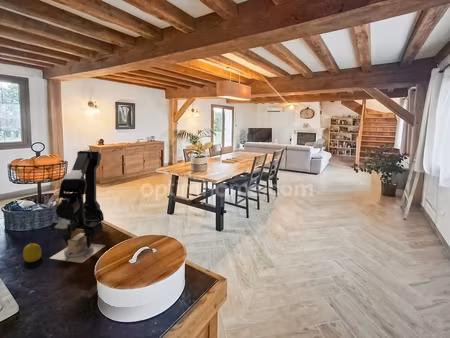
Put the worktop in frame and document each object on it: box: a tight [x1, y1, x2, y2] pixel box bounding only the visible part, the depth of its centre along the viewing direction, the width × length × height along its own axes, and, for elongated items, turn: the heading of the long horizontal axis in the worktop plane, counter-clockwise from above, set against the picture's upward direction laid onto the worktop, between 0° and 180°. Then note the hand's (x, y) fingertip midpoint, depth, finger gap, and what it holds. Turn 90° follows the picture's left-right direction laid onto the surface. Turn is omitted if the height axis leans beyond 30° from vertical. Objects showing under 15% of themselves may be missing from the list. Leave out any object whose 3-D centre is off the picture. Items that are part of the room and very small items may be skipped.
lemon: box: [22, 242, 43, 263], centre depth 96 cm, size 6×6×8 cm
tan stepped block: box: [63, 232, 93, 257], centre depth 102 cm, size 10×10×6 cm
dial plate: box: [49, 243, 106, 264], centre depth 103 cm, size 14×14×2 cm
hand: (78, 246), depth 102 cm, fingers open, 9 cm apart
